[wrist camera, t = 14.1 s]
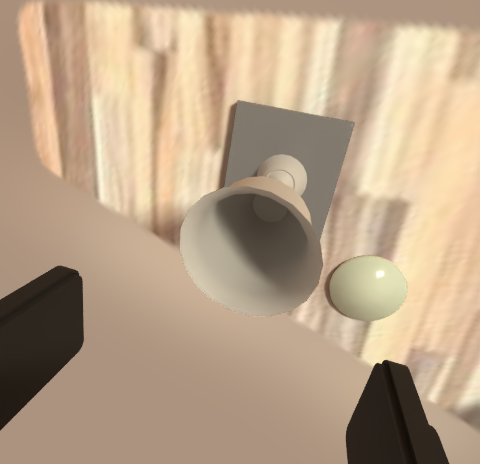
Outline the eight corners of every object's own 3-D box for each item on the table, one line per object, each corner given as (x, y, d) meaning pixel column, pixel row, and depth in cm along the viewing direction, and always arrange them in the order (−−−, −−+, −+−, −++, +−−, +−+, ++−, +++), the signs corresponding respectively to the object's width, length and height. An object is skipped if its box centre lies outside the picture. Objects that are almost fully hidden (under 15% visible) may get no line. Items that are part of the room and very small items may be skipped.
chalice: (333, 176, 31) (355, 254, 15) (288, 226, 34) (264, 339, 17) (273, 128, 30) (227, 153, 14) (233, 183, 33) (155, 257, 17)
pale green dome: (398, 246, 33) (400, 250, 33) (411, 310, 36) (413, 314, 35) (321, 263, 36) (321, 266, 35) (338, 321, 38) (339, 325, 37)
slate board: (353, 122, 30) (354, 122, 29) (316, 246, 35) (316, 249, 34) (239, 100, 31) (237, 100, 30) (220, 222, 36) (217, 225, 35)
